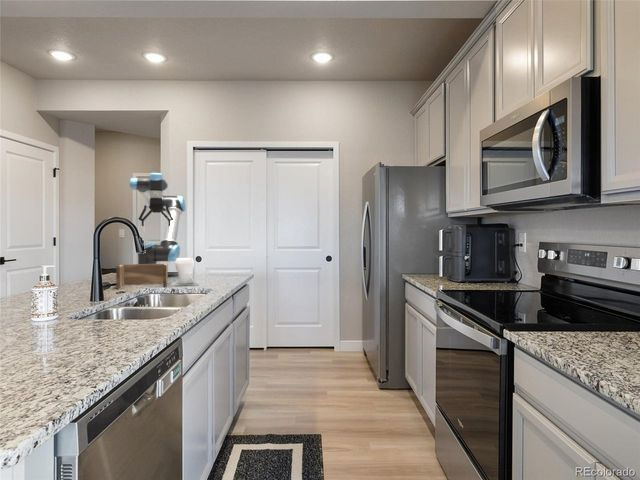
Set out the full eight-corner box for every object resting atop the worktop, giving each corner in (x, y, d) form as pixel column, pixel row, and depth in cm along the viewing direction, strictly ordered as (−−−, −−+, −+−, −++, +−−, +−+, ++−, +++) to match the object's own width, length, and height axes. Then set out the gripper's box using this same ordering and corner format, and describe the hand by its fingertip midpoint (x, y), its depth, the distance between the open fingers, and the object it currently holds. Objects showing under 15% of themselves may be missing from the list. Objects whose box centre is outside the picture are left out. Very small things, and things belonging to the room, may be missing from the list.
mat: (172, 283, 231) (172, 282, 231) (197, 282, 236) (197, 281, 236) (171, 286, 217) (171, 285, 217) (198, 285, 222) (198, 284, 222)
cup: (190, 284, 221) (190, 259, 220) (172, 284, 221) (172, 259, 221) (196, 282, 232) (196, 257, 231) (179, 281, 232) (179, 257, 231)
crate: (121, 284, 224) (121, 263, 223) (167, 282, 232) (167, 262, 232) (116, 288, 208) (116, 266, 207) (166, 286, 216) (166, 264, 216)
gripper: (133, 196, 228) (133, 231, 229) (177, 198, 237) (177, 231, 237) (135, 197, 236) (135, 231, 236) (177, 199, 244) (177, 231, 244)
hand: (156, 231), depth 237 cm, fingers open, 13 cm apart
